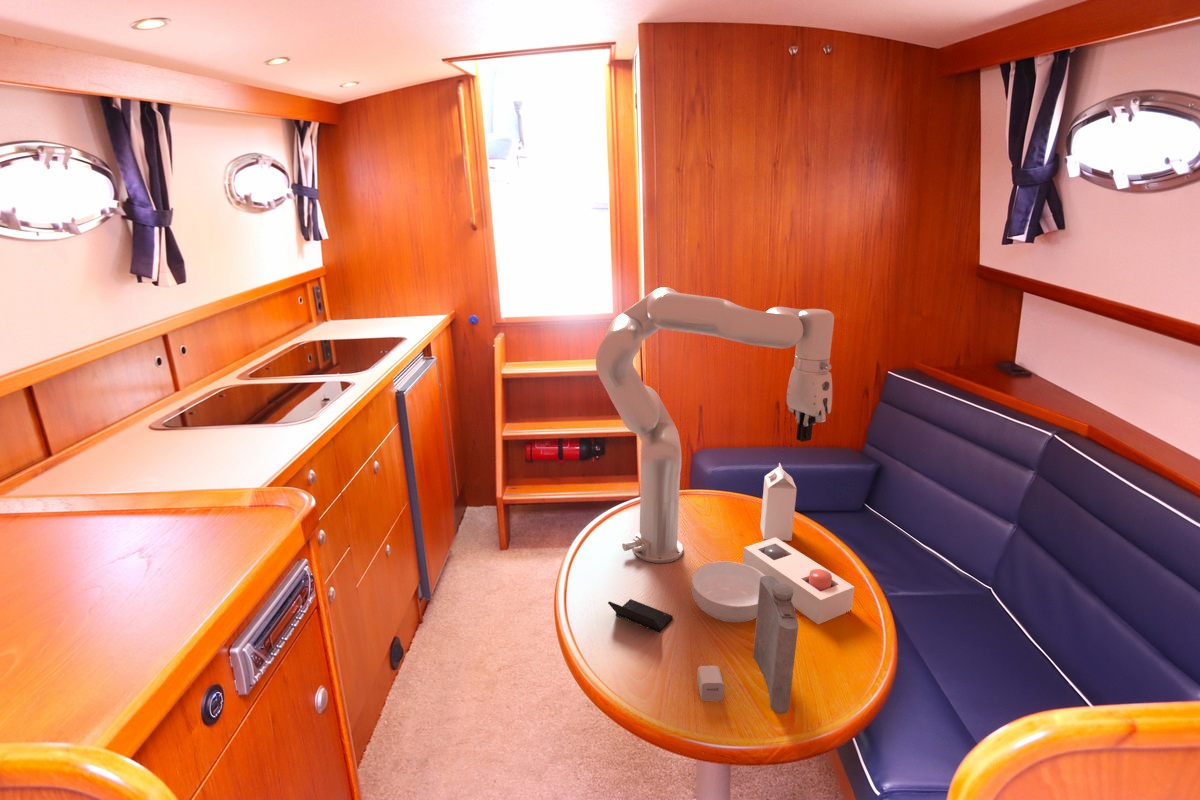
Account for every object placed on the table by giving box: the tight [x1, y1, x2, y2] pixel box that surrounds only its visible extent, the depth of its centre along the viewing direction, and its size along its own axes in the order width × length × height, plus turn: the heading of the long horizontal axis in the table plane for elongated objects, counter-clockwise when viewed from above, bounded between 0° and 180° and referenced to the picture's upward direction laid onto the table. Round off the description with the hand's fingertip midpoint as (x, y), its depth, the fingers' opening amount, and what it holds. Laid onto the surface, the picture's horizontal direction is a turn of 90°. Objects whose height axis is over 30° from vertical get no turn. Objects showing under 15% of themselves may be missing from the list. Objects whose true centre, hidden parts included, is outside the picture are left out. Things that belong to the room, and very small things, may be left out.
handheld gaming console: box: [607, 598, 674, 634], centre depth 139 cm, size 12×7×10 cm
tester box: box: [742, 537, 855, 625], centre depth 150 cm, size 10×24×6 cm, turn 29°
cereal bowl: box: [690, 560, 765, 623], centre depth 142 cm, size 17×17×7 cm
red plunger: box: [808, 569, 832, 592], centre depth 143 cm, size 5×5×6 cm
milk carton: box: [759, 462, 797, 542], centre depth 172 cm, size 7×7×19 cm
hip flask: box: [752, 576, 799, 715], centre depth 119 cm, size 16×4×20 cm, turn 1°
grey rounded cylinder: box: [764, 545, 785, 560], centre depth 155 cm, size 5×5×6 cm
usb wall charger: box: [696, 663, 725, 702], centre depth 120 cm, size 4×7×4 cm, turn 1°
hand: (803, 439), depth 155 cm, fingers closed
